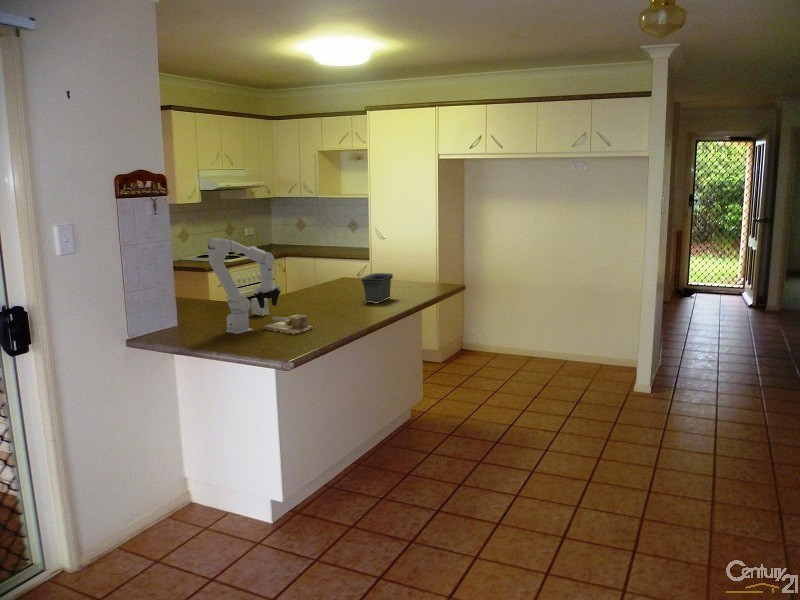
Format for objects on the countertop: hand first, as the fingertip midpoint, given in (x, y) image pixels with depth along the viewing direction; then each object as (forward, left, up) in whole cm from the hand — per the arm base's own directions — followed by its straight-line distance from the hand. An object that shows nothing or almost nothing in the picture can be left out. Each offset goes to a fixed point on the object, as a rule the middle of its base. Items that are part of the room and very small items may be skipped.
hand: (268, 306), depth 316 cm
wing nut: (-1, -19, -7) cm, 20 cm away
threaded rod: (-1, -13, -6) cm, 14 cm away
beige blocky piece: (-1, -14, -9) cm, 17 cm away
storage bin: (+79, -3, -9) cm, 79 cm away
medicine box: (+15, +22, -9) cm, 28 cm away
